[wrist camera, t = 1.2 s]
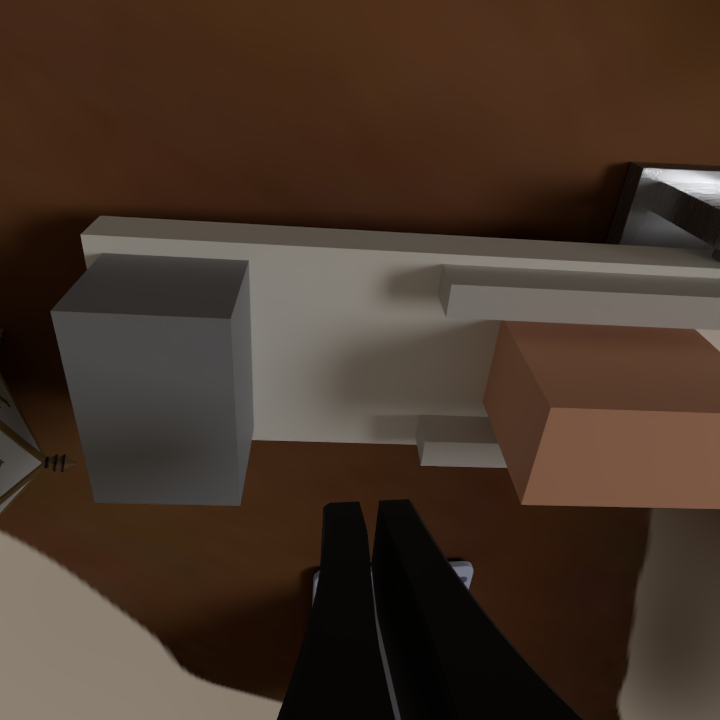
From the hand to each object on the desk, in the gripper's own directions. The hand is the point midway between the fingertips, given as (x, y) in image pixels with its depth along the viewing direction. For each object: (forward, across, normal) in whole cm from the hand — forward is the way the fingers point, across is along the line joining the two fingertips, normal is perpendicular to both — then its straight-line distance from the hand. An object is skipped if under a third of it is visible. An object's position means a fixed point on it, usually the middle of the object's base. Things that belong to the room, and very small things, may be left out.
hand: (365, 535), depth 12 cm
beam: (+8, -10, 0) cm, 12 cm away
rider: (+6, -8, 0) cm, 10 cm away
